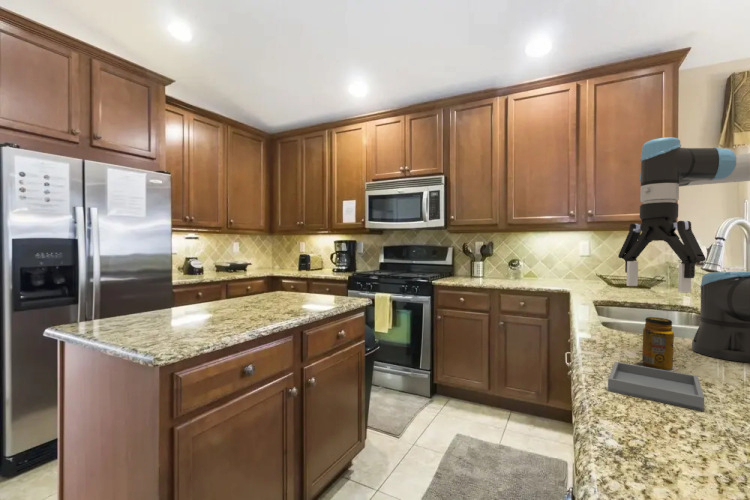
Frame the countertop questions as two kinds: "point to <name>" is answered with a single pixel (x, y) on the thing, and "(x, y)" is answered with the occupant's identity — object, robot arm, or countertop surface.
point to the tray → (657, 385)
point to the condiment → (658, 344)
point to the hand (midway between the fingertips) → (656, 289)
